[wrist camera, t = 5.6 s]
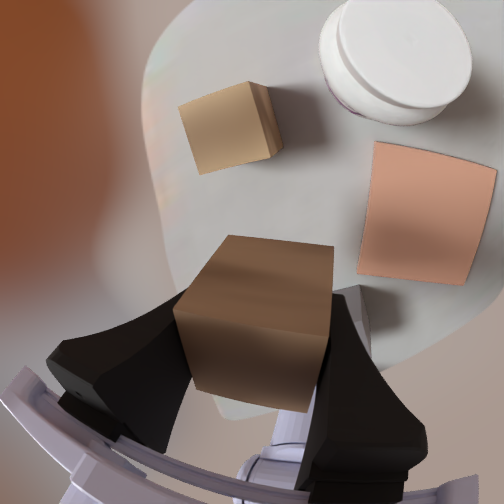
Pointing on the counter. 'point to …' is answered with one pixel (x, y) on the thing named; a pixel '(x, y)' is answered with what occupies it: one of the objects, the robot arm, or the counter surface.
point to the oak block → (231, 127)
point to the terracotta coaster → (423, 215)
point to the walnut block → (259, 321)
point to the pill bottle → (394, 59)
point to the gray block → (358, 313)
